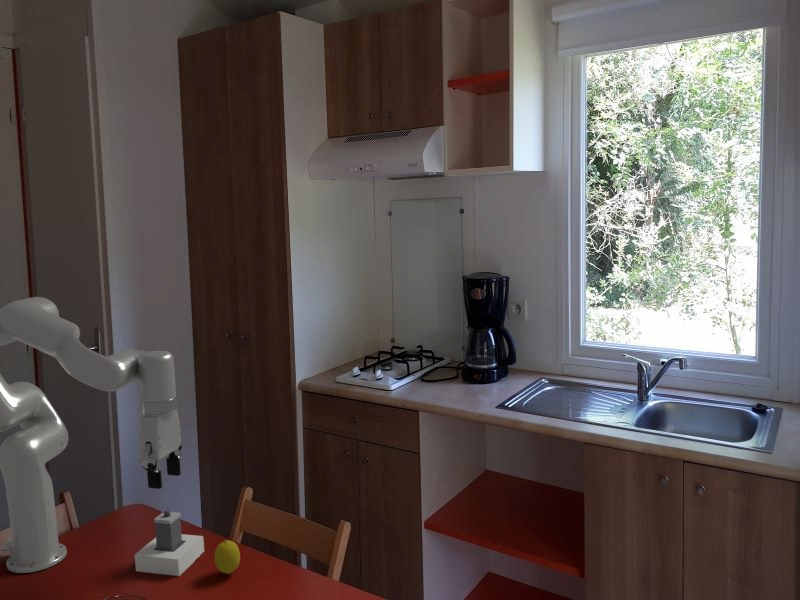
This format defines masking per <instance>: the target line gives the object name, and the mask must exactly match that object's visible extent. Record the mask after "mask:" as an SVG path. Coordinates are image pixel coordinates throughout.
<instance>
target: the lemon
mask: <svg viewBox="0 0 800 600" xmlns="http://www.w3.org/2000/svg"><path fill="white" fill-rule="evenodd" d="M240 561H241V553H240V548H239V546H238V544H237V543H236V542H234V541H233V540H228V539H225V540H224V541H222V542H221V543H219V544H218V545H217V547H216V548H215V551H214V563H215V566H216V568H217V570H218V571H219V572H221V573H224V574H226V575H230V574H231V573H233V572H234V571H236V570H237V568H238V567H239V565H240Z"/></svg>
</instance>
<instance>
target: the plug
mask: <svg viewBox="0 0 800 600" xmlns="http://www.w3.org/2000/svg"><path fill="white" fill-rule="evenodd" d="M153 522H154V526H155V527H154V528H155V538H156V543H157V550H159V551H169V552H174V551H175V550H177V549H178V548H179V547H180V546H181V545H182V535H181V534H182V523H181V522H182V521H181V512H176V511H171V510H164V511H163V512H161V513H160V514H159V515H158V516H156V517H155V518H154V519H153Z"/></svg>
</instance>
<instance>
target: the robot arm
mask: <svg viewBox="0 0 800 600" xmlns="http://www.w3.org/2000/svg"><path fill="white" fill-rule="evenodd" d="M59 311H60V310H59V309H58V306H57V305H56V304H55V303H54V302H53V301H52V300H50V299H48V298H45V297H43V296H33V297H28V298H24V299H23V298H22V299H19V300H13V301H12V302H9V303H8V304H6V305H4V306H3V307H2V308H1V309H0V347H2V346H5V345H9V344H11V343H15V342H20V343H23V344H24V345H27V346H29V347H31V348H33V349H36V350H38V351H40V352H42V353H44V354H46V355H48V356H51V357H53V358H54V359H56V360H57V362H58V363H59V365H60V367H61V368H63V369H64V371H65V372H66V373H67V374H68V375H69V376H71V377H72V378H73V379H75V380H77V381H79V382H80V383H82V384H86V385H87V386H89V387H91V388H94V389H97V390H99V391H103V392H109V393H110V392H117V391H119V390H121V389H123V388H125V387H126V386H129V385H130V384H133V383H136V382H138V381H139V389H140V402H141V414H142V415H141V416H140V422H139V455H140V458H139V460H138V461H139V464H140V465H141V466H142V468H143V469H144V471H145V472H146V475H147V486H148V488H149V489H158V490H160V489H162V488H163V479H162V471H161V470H160V468H161V467H160V466H161V461H162V459H163V458H165V457H166V456H167V458H165V459H166V460H165V461H166V471H167V472H166V474H167V475H168V476H178V477H179V476H180V475H181V474H182V473H181V472H182V471H181V456H182V454H181V451H182V448H183V442H184V439H185V437H184V436H183V435H182V433H181V432H182V431H181V423H180V416H179V413H178V403H177V401H178V400H177V391H176V375H175V374H176V372H175V362H174V361H175V359H174V355H173V354H172V353H171V352H170V351H167V350H153V351H146V350H140V349H130V348H128V349H127V348H126V349H124V350H123V349H122V350H121V351H118V352H116V353H113V354H111V355H109V356H105V355H103V354H100V353H98V352H96V351H95V350H92V349H90V348H89V347H87V346H85V345H84V344H83V343H82V342H81V341H80V336H81V330H80V327H79V326H78V325H77V324H76V323H74V322H71V321H70V320H67V319H64V318H62V317H60V312H59ZM17 426H20V428H21V429H20V430H18V431H16V432H15V433H13V434H11V435H10V436H8V437H7V438H5V440H4V441H3V442H1V445H0V471H1V474H2V478H3V481H4V487H5V492H6V501H7V508H8V517H9V529H10V537H11V538H10V537H9V538H6V539H5V540H4V544H3V545H2V546H1V549H0V550H1V551H2V552H9V557H8V558H7V560H6V569H7V570H8V571H10V572H12V573H16V574H28V573H35V572H39V571H43V570H46V569H48V568H50V567H54V566H55V565H57V564H58V563H60V562H62V561H63V560H64V559H65V557H67V554H68V551H67V547H66V546H65V545H64V544H62V543H60V542H59V534H58V524H57V514H56V503H55V493H54V486H53V485H54V484H53V482H52V481H53V480H52V478H51V476H50V474H49V472H48V470H47V468H46V463H48V462H49V461H50V460H52V459H53V458H55V457H57V456H59V455H60V454H61V453H62V452H63V451H64V450H65V449H66V447H67V446H68V443H69V434H68V433H69V432H68V430H67V428H66V425H65V423H64V422H63V420H62V419H61V417H60V415H59V414H58V413H57V411H56V410H55V408H54V407H53V405H52V403H51V402H50V400H49V399H48V397H47V396H46V394H45V393H44V392H43V391H42V390H41V388H40V387H38V386H37V385H35V384H33V383H31V382H28V381H18V382H17V381H16V382H14V383H11V384H8V382H7V381H6V380H5V378H4V377H3V376H2V374H1V373H0V433H3V432H6V431H8V430H11V429H13V428H14V427H17ZM153 456H154V457H153ZM153 461H155V463H152V462H153Z"/></svg>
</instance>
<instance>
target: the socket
mask: <svg viewBox="0 0 800 600" xmlns="http://www.w3.org/2000/svg"><path fill="white" fill-rule="evenodd" d="M181 535H182V545H181V546H180V547H179V548H178V549H177V550H175V551H174V552H169V551H159V550H157V543H156V537H154V539H153V538H152V540H151V541H149V542H148V543H147V544H146V545H144V546H143V547H142V548H140V550H138V551H137V552H136V553H135V554H134V560H135V561H134V564H135V572H138V573H139V572H140V573H149V574H156V575H167V576H175V577H180V576H181V575H182V574H183V573H184V572H185V571H186V570H188V568H189V567H191V566H192V564H194V563H195V562H196V561H195V560H196V559H197V558H198V557H199V558H200V557H201V556H202V555H203V554H204V553H205V545H204V544H205V542H204V536H203V535H193V534H187V533H186V534H183V533H181ZM203 552H204V553H203ZM202 553H203V554H202ZM201 554H202V555H201ZM200 555H201V556H200ZM199 558H198V559H199ZM198 559H197V560H198Z"/></svg>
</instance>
